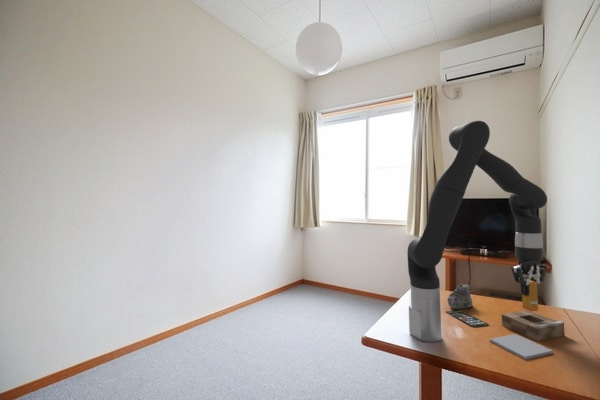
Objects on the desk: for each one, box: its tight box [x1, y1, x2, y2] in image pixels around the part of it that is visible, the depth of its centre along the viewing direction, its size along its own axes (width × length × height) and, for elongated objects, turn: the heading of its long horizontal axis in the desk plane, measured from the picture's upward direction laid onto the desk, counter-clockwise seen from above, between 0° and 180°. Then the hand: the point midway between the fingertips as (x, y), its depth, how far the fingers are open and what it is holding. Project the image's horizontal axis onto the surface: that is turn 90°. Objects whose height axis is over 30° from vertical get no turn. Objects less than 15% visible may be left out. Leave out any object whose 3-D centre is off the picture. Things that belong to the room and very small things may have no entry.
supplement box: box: [521, 280, 539, 312], centre depth 97 cm, size 3×3×10 cm
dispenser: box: [501, 309, 566, 342], centre depth 96 cm, size 12×12×5 cm
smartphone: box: [445, 309, 490, 328], centre depth 108 cm, size 7×1×15 cm
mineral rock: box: [447, 283, 473, 310], centre depth 120 cm, size 13×11×10 cm
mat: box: [489, 333, 554, 360], centre depth 86 cm, size 11×11×1 cm
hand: (529, 294), depth 97 cm, fingers closed on supplement box, 3 cm apart
